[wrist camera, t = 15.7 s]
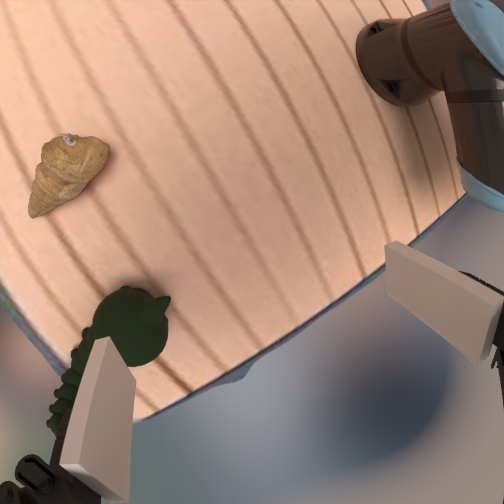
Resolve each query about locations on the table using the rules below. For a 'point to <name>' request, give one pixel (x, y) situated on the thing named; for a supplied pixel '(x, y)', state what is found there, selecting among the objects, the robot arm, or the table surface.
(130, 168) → the table surface
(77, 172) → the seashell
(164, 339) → the toy figurine
